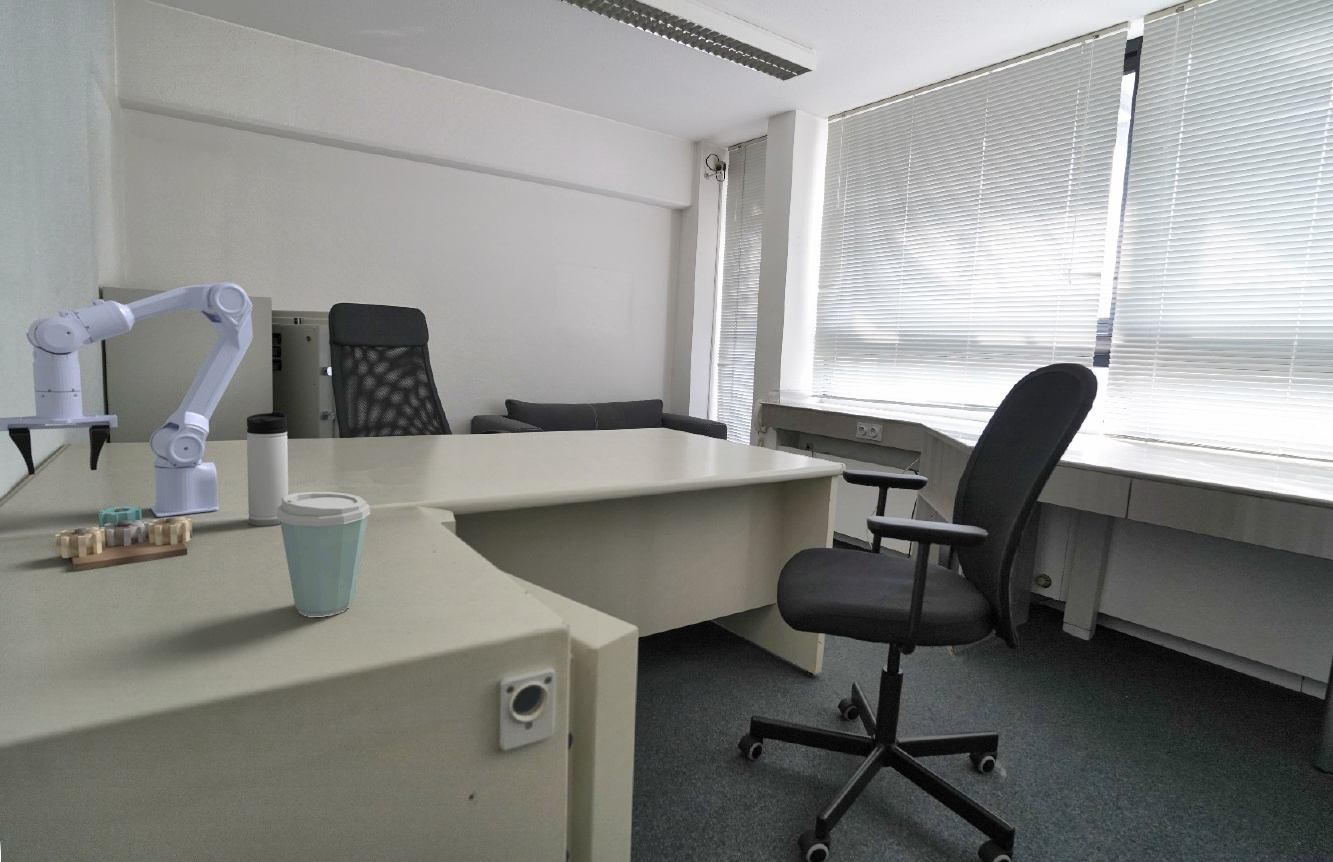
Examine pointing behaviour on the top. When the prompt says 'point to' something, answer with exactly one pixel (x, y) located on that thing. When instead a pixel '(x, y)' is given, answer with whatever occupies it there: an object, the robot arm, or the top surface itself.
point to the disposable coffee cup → (323, 548)
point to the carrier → (124, 542)
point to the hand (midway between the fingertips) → (63, 471)
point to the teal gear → (119, 515)
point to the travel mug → (266, 466)
